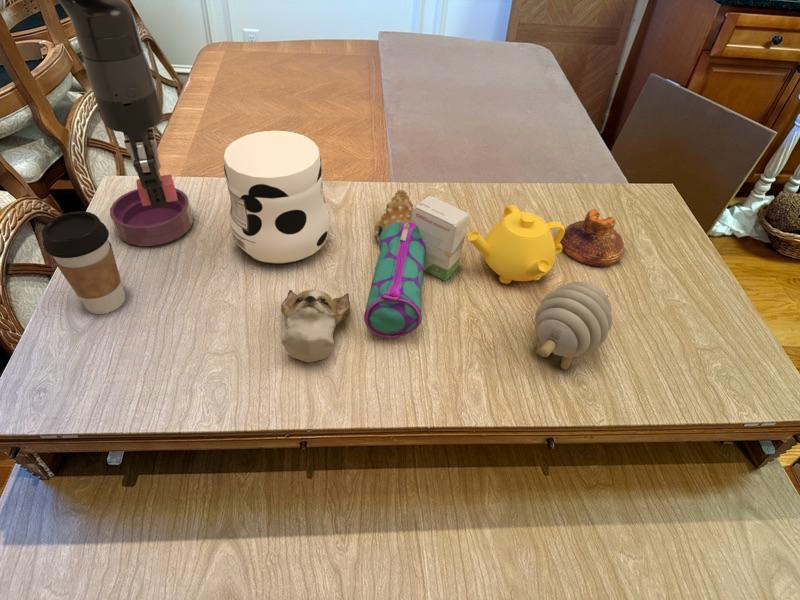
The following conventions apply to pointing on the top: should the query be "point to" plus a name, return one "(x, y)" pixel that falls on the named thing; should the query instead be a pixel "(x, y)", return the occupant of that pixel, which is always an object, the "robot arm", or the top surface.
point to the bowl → (150, 219)
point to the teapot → (519, 246)
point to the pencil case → (397, 282)
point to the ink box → (440, 235)
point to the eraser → (167, 187)
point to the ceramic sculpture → (312, 323)
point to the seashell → (396, 211)
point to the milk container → (276, 196)
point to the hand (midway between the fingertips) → (158, 198)
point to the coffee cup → (85, 259)
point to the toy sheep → (572, 321)
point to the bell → (593, 241)
